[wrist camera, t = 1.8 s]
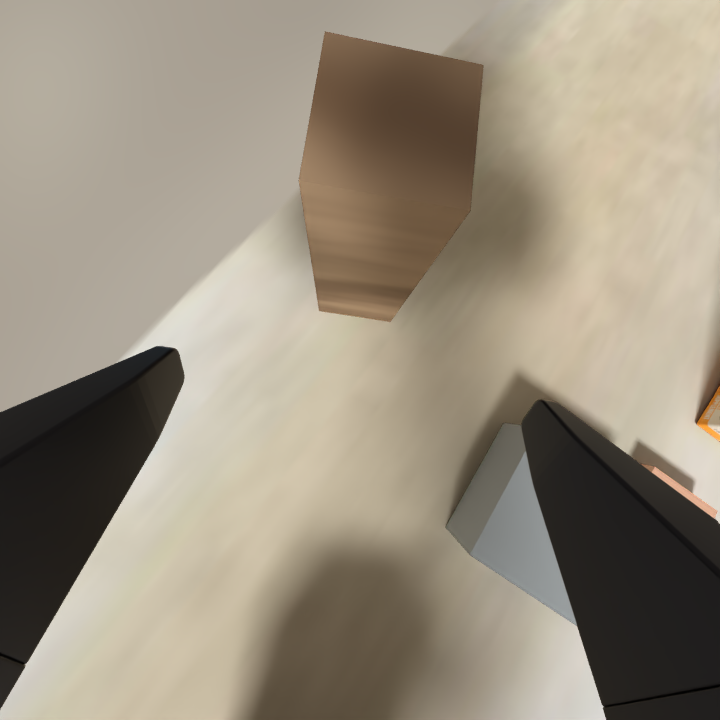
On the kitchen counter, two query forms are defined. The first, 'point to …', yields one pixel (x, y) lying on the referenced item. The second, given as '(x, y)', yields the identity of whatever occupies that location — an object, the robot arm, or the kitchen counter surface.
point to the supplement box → (712, 417)
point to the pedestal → (510, 523)
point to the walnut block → (385, 170)
